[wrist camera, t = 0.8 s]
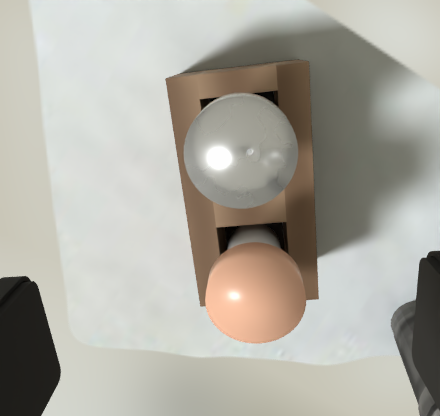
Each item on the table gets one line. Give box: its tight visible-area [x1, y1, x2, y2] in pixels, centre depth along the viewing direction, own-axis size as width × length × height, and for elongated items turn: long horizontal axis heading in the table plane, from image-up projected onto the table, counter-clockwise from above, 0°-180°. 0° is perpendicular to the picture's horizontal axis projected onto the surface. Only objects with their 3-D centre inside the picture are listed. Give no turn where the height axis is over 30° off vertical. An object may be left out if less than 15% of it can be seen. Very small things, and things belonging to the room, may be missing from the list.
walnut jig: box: [166, 59, 319, 306], centre depth 32 cm, size 9×17×6 cm, turn 7°
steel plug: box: [184, 92, 298, 209], centre depth 26 cm, size 6×6×8 cm
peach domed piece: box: [205, 224, 306, 343], centre depth 29 cm, size 6×6×8 cm
